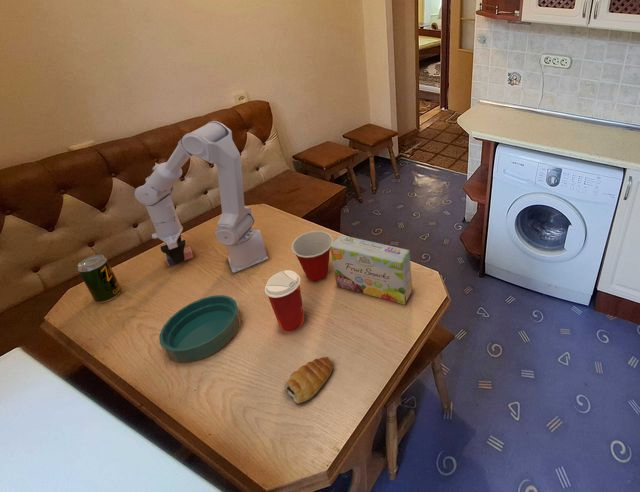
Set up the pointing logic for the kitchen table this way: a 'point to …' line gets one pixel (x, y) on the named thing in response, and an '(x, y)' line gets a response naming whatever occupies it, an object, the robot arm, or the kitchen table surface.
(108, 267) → the beer can
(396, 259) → the snack box
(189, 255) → the eraser
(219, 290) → the kitchen table surface
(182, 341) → the bowl
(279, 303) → the paper cup
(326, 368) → the pastry
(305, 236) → the plastic cup
